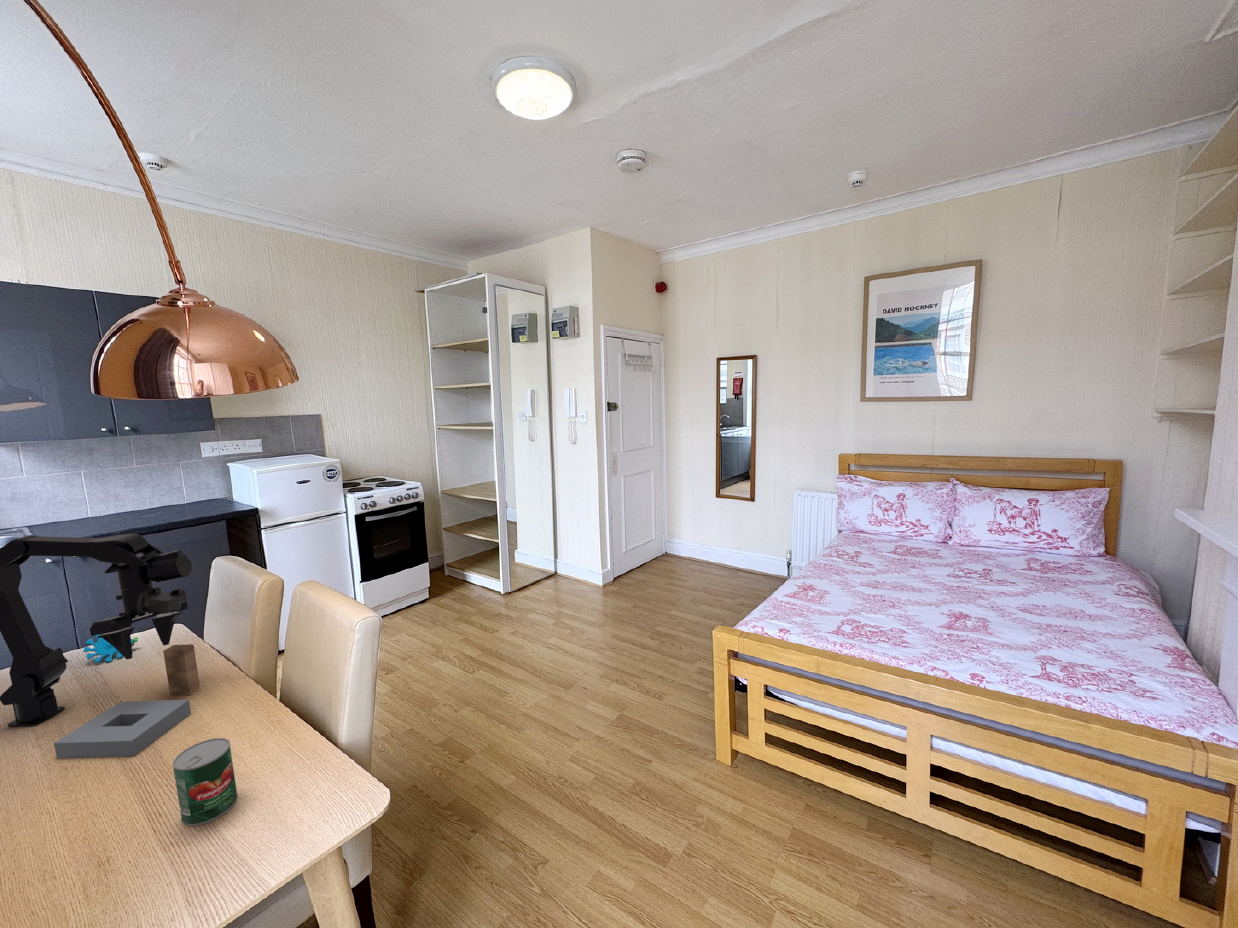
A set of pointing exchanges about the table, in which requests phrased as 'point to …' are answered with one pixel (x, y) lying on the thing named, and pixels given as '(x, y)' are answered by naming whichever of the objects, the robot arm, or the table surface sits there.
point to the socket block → (123, 729)
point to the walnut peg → (181, 670)
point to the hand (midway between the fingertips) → (148, 651)
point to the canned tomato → (205, 781)
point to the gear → (103, 649)
